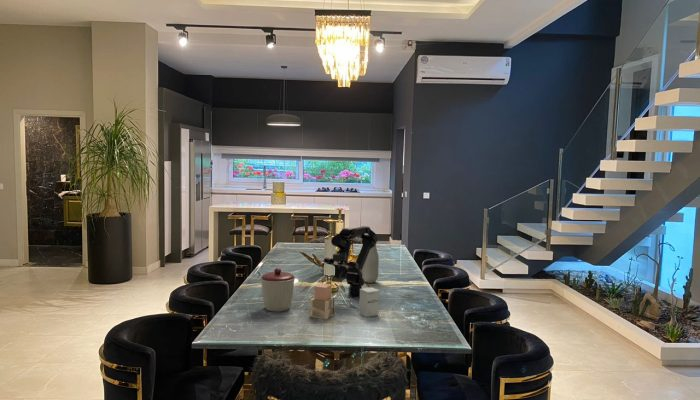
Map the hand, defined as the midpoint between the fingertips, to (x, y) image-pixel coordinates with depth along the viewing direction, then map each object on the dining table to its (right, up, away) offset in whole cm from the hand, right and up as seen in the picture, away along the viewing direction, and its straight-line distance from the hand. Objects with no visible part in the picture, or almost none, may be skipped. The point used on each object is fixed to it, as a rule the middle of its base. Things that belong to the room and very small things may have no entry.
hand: (337, 279), depth 265 cm
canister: (-30, -14, -10) cm, 35 cm away
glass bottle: (+19, -10, +46) cm, 51 cm away
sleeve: (-7, -15, -20) cm, 26 cm away
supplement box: (+16, -15, -17) cm, 28 cm away
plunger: (-7, -14, -19) cm, 25 cm away
